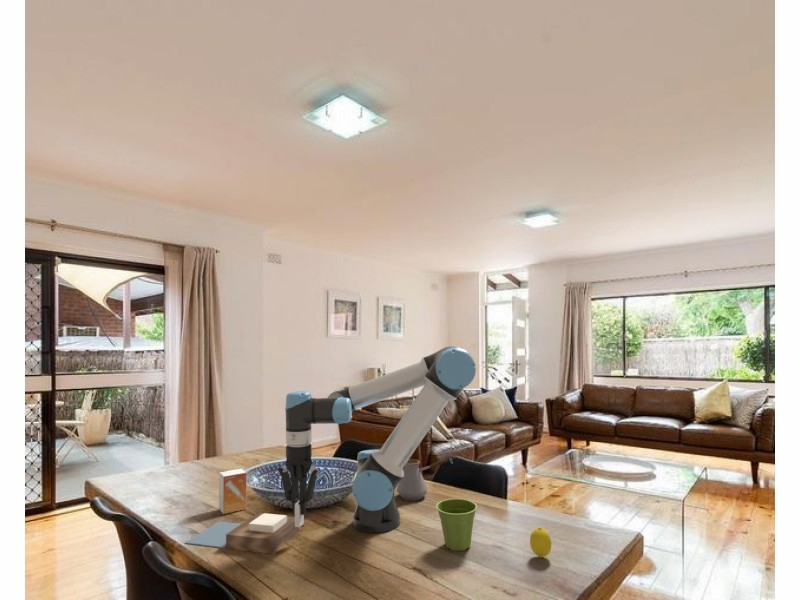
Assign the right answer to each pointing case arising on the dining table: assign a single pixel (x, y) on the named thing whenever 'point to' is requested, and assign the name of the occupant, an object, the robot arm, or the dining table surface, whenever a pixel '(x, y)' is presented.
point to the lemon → (540, 542)
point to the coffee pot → (414, 480)
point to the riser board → (260, 537)
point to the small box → (232, 491)
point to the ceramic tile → (268, 523)
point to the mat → (214, 535)
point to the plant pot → (457, 522)
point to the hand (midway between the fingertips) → (299, 525)
